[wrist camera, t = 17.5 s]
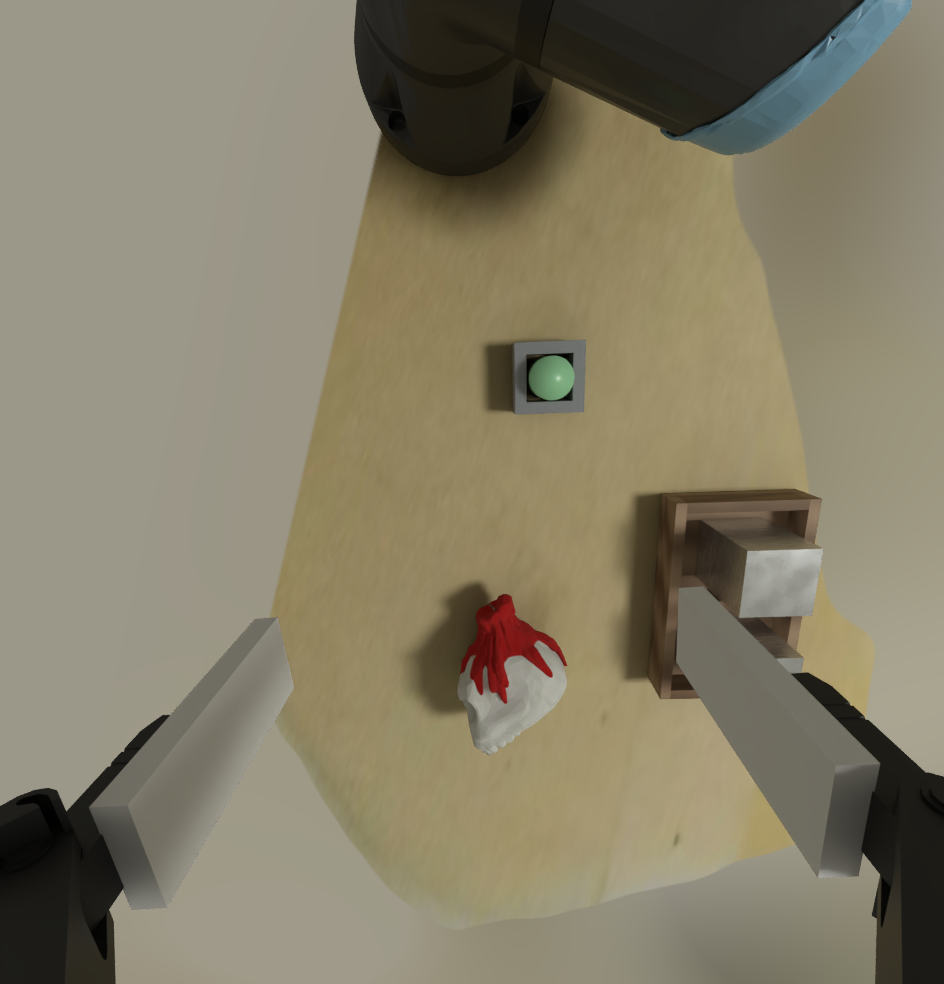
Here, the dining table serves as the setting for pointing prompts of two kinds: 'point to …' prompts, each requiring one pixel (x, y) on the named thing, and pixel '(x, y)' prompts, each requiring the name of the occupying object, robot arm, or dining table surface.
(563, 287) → the dining table surface
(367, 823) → the dining table surface
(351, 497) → the dining table surface
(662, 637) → the wooden cubby shelf
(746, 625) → the block
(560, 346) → the button housing
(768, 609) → the block
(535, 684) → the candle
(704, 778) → the dining table surface
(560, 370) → the button
